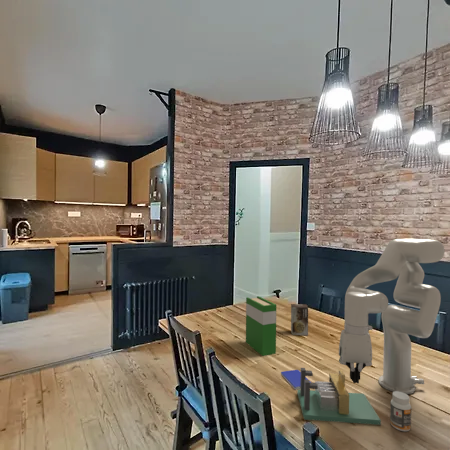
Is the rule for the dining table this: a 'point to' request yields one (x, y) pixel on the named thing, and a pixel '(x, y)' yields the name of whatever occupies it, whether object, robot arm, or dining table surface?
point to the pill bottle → (400, 411)
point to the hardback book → (261, 325)
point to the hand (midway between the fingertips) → (354, 381)
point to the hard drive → (293, 378)
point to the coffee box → (299, 319)
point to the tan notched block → (341, 391)
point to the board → (311, 411)
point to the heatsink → (327, 396)
